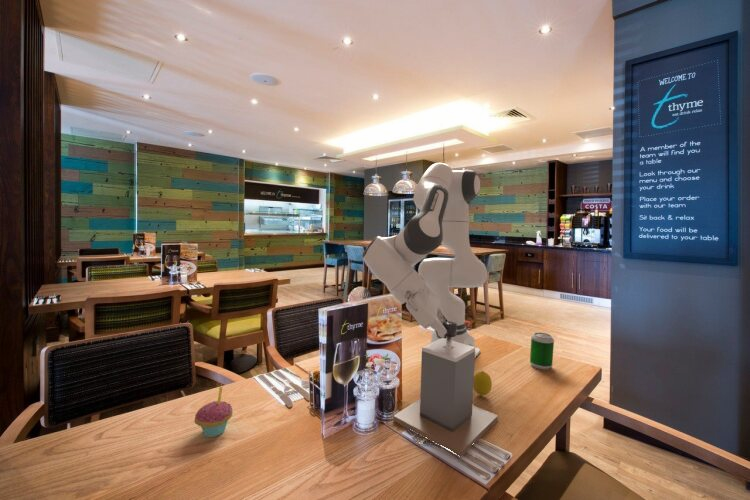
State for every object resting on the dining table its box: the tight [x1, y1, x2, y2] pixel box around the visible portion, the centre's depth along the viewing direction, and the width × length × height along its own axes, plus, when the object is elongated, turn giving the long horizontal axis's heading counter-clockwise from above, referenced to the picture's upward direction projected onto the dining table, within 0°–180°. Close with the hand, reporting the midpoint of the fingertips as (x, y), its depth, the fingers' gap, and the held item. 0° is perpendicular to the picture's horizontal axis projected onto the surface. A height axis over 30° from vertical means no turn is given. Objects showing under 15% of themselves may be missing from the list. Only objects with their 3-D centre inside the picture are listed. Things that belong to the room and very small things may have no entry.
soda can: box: [529, 332, 555, 371], centre depth 126 cm, size 8×8×12 cm
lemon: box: [473, 370, 493, 397], centre depth 104 cm, size 6×6×8 cm
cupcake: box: [194, 383, 233, 438], centre depth 85 cm, size 9×8×12 cm
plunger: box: [443, 321, 457, 350], centre depth 90 cm, size 8×8×24 cm
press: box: [392, 338, 499, 458], centre depth 91 cm, size 20×20×20 cm
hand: (445, 327), depth 89 cm, fingers open, 8 cm apart
